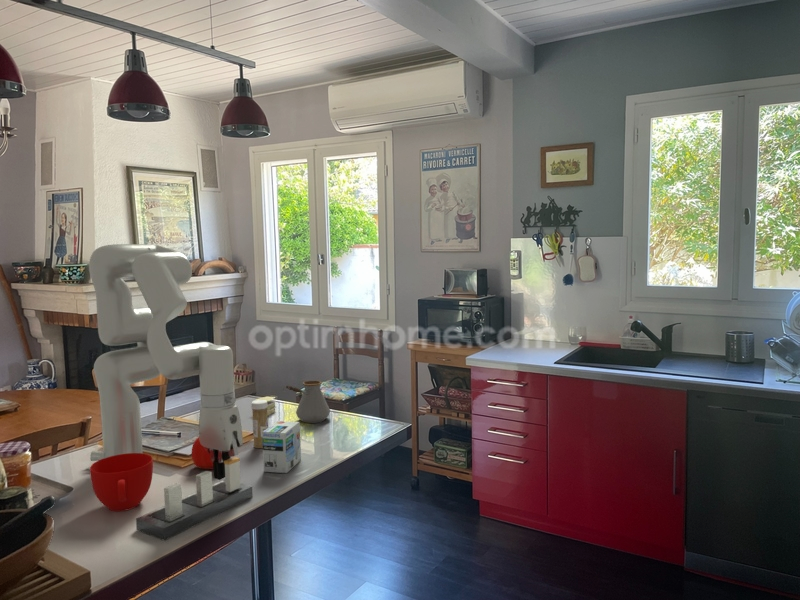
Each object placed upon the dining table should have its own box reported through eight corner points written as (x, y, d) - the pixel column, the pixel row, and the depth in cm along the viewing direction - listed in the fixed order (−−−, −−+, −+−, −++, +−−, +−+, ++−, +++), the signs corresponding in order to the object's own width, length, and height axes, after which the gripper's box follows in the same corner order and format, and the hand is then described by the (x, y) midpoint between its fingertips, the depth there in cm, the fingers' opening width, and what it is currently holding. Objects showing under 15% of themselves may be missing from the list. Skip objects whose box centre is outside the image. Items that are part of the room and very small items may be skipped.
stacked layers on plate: (263, 409, 217) (263, 394, 217) (284, 411, 214) (283, 396, 213) (246, 416, 208) (245, 401, 208) (267, 419, 205) (266, 403, 204)
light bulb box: (287, 474, 153) (285, 433, 153) (262, 472, 155) (261, 431, 154) (301, 459, 164) (300, 421, 163) (279, 458, 165) (277, 420, 164)
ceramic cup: (89, 530, 124) (85, 483, 123) (94, 499, 140) (91, 458, 139) (156, 518, 129) (153, 473, 128) (154, 489, 145) (152, 449, 144)
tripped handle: (230, 492, 135) (229, 462, 134) (225, 490, 136) (223, 461, 135) (241, 487, 138) (239, 457, 137) (235, 485, 139) (234, 456, 138)
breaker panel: (164, 540, 119) (162, 495, 118) (136, 530, 124) (134, 486, 123) (252, 496, 139) (251, 458, 139) (225, 489, 144) (224, 451, 143)
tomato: (241, 463, 162) (240, 432, 161) (208, 476, 152) (207, 443, 152) (215, 456, 167) (214, 426, 167) (182, 469, 158) (180, 437, 158)
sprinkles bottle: (269, 447, 174) (267, 402, 173) (253, 449, 173) (251, 403, 172) (269, 443, 178) (267, 398, 177) (253, 444, 177) (251, 400, 176)
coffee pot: (307, 413, 209) (306, 371, 208) (336, 417, 205) (335, 374, 203) (271, 431, 190) (270, 385, 188) (302, 435, 185) (301, 387, 184)
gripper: (253, 399, 136) (256, 477, 138) (208, 392, 144) (212, 466, 146) (228, 407, 130) (231, 489, 131) (182, 399, 138) (186, 476, 139)
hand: (221, 477), depth 139 cm, fingers closed
